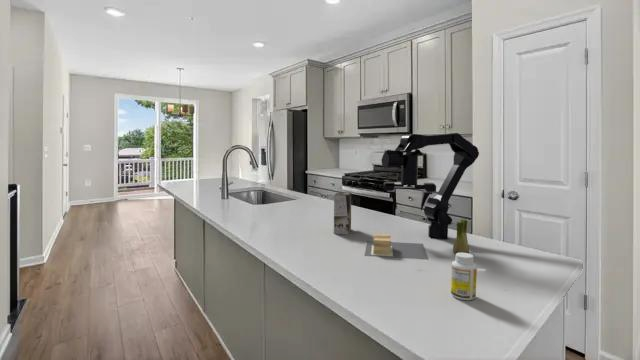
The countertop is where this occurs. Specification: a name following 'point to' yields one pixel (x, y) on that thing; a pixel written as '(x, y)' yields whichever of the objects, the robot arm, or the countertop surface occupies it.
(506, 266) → the countertop surface
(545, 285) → the countertop surface
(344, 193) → the coffee box
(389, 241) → the oak block
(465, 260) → the supplement bottle
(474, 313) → the countertop surface
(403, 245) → the mat
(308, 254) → the countertop surface
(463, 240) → the fennel bulb
